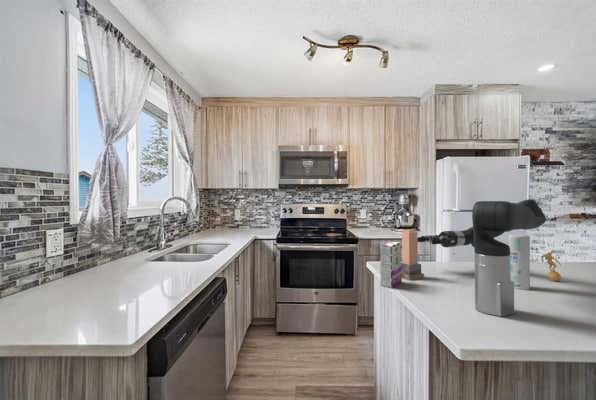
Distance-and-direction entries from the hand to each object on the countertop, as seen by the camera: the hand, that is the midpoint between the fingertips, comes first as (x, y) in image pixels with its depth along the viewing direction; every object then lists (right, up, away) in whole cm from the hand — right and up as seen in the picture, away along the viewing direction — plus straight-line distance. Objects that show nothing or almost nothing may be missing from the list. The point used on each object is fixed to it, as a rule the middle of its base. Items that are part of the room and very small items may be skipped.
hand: (424, 240), depth 138 cm
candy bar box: (-20, -16, -14) cm, 29 cm away
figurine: (+48, -15, -11) cm, 52 cm away
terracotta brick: (-8, -10, -3) cm, 13 cm away
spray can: (+28, -15, -20) cm, 38 cm away
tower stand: (-8, -16, -3) cm, 18 cm away
